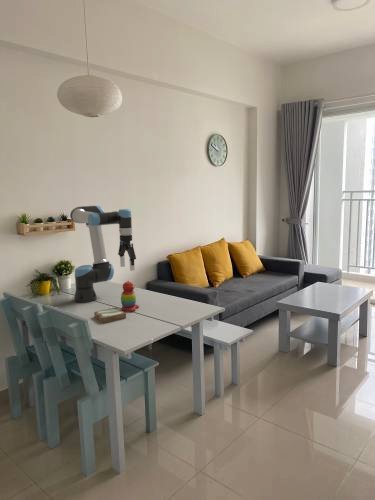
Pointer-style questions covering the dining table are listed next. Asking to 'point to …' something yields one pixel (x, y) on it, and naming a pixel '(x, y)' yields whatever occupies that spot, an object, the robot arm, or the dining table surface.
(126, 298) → the stacking bear
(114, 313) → the picture frame
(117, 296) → the dining table surface
